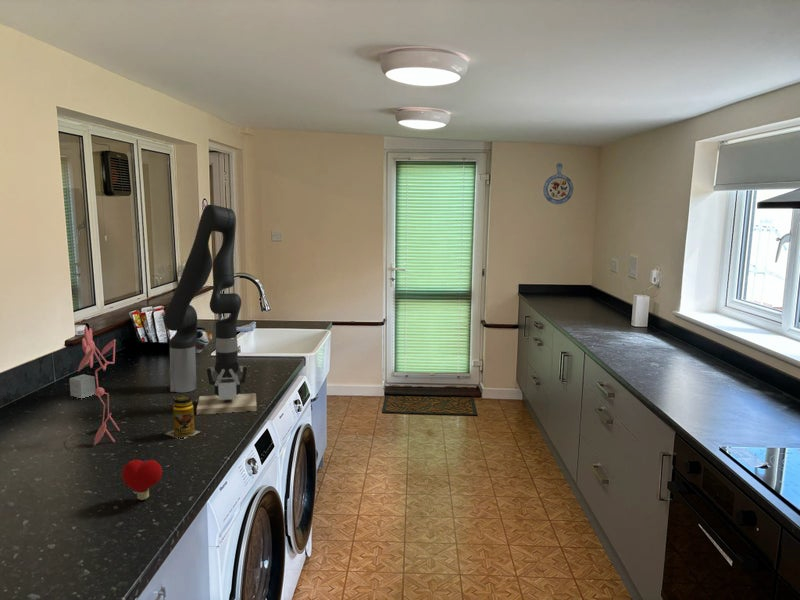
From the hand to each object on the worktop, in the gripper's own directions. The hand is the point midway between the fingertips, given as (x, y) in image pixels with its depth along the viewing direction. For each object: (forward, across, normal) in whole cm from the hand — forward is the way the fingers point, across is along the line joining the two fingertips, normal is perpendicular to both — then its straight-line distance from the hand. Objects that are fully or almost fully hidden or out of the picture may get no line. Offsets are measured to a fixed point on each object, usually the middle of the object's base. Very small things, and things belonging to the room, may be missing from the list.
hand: (227, 394), depth 206 cm
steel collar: (+1, 0, 0) cm, 1 cm away
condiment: (+5, +13, +23) cm, 27 cm away
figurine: (+5, +39, +22) cm, 45 cm away
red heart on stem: (+5, +18, +65) cm, 68 cm away
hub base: (+4, 0, 0) cm, 4 cm away
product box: (+5, +52, -21) cm, 56 cm away
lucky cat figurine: (+5, +18, -84) cm, 85 cm away
